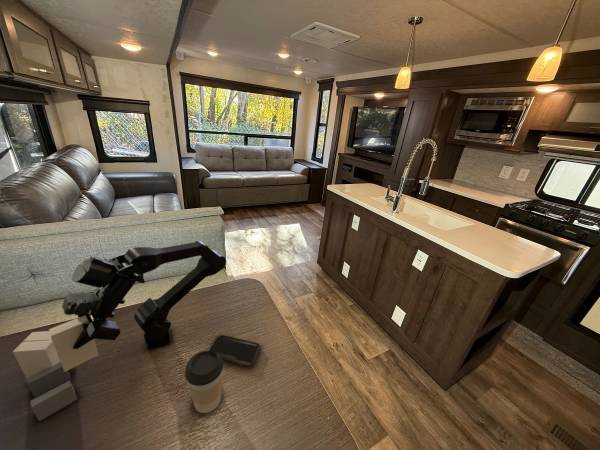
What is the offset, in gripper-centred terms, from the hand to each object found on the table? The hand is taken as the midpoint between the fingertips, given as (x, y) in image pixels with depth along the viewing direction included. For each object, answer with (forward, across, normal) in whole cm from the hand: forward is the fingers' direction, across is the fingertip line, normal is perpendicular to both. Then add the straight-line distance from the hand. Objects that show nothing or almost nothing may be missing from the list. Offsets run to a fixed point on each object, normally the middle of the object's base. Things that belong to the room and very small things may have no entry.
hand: (73, 344), depth 63 cm
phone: (-14, +21, +34) cm, 42 cm away
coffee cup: (-4, +29, +24) cm, 37 cm away
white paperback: (+4, 0, +4) cm, 6 cm away
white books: (+14, -9, +5) cm, 17 cm away
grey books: (+14, 0, +5) cm, 15 cm away
